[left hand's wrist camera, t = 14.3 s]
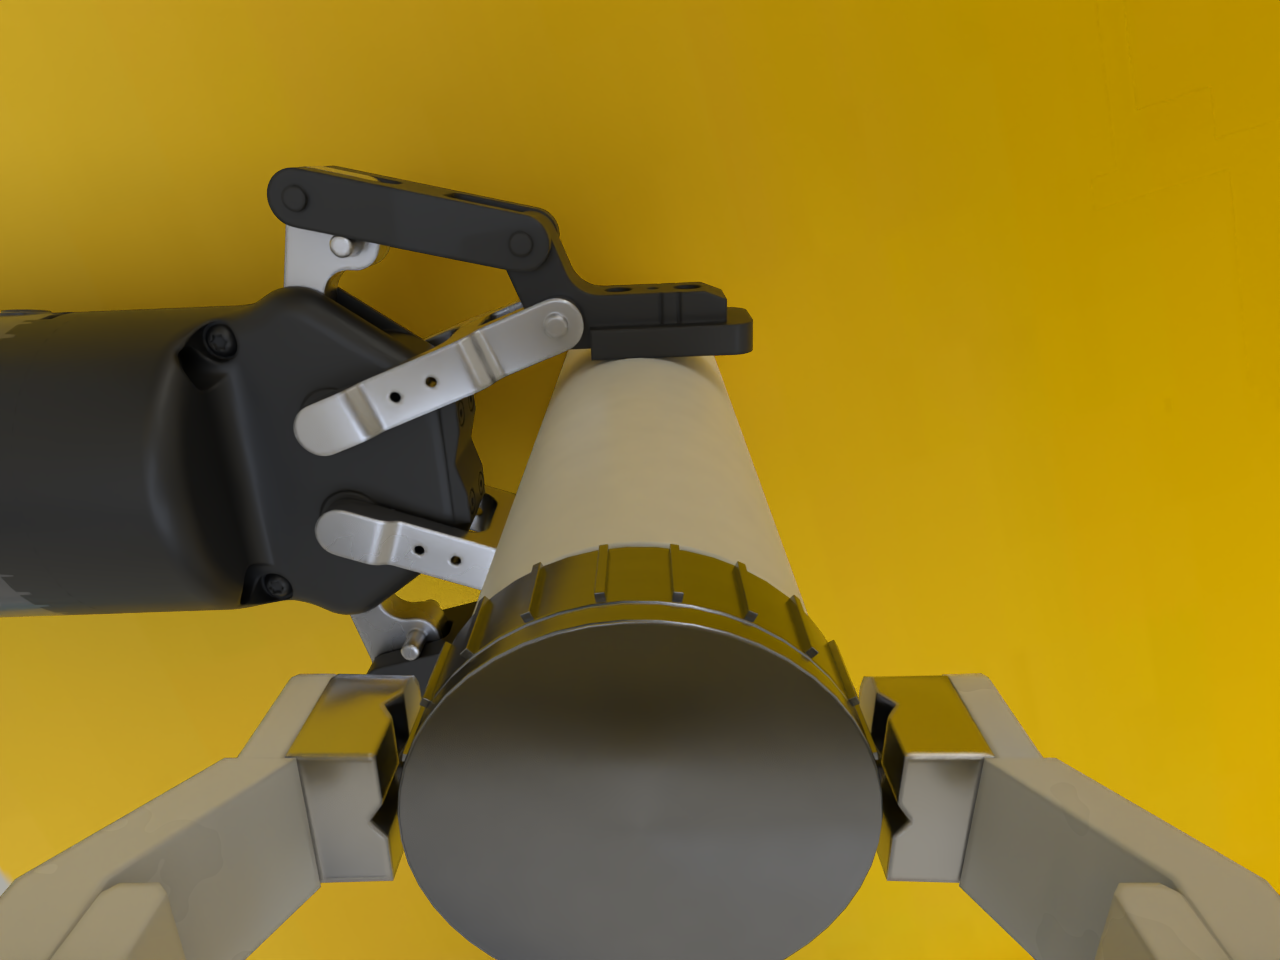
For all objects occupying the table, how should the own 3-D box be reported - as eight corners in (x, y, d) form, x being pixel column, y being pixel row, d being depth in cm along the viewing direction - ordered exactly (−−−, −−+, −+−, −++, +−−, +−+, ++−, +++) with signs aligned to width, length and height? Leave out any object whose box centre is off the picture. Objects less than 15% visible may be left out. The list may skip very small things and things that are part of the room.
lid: (342, 646, 10) (286, 736, 8) (752, 463, 9) (775, 527, 7) (552, 933, 12) (539, 1051, 10) (911, 805, 11) (956, 912, 9)
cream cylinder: (670, 272, 25) (733, 524, 8) (743, 408, 26) (923, 852, 10) (533, 351, 26) (335, 723, 9) (612, 477, 27) (568, 992, 11)
